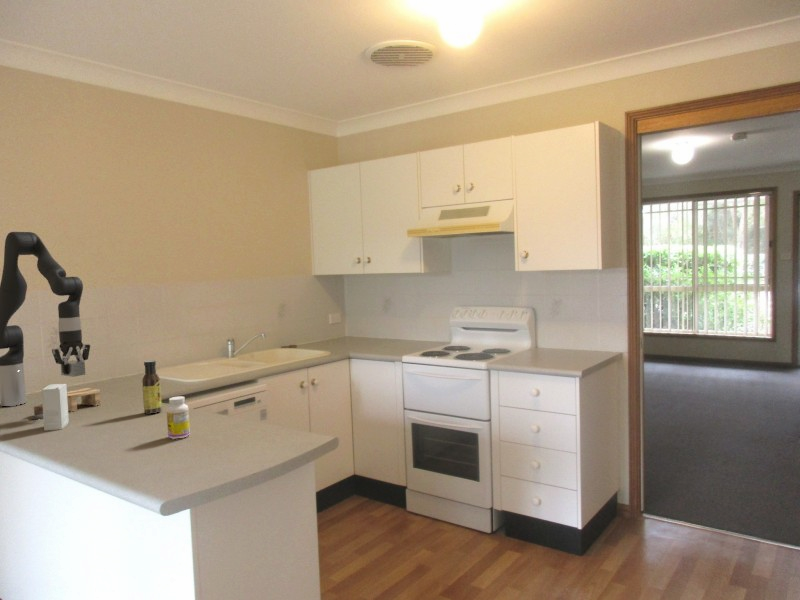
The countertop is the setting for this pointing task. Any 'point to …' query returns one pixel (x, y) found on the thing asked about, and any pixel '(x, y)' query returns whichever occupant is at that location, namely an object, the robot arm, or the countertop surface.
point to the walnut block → (38, 409)
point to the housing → (75, 368)
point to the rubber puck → (37, 416)
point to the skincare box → (55, 406)
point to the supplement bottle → (178, 418)
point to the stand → (83, 397)
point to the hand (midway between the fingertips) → (73, 372)
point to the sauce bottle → (151, 389)
